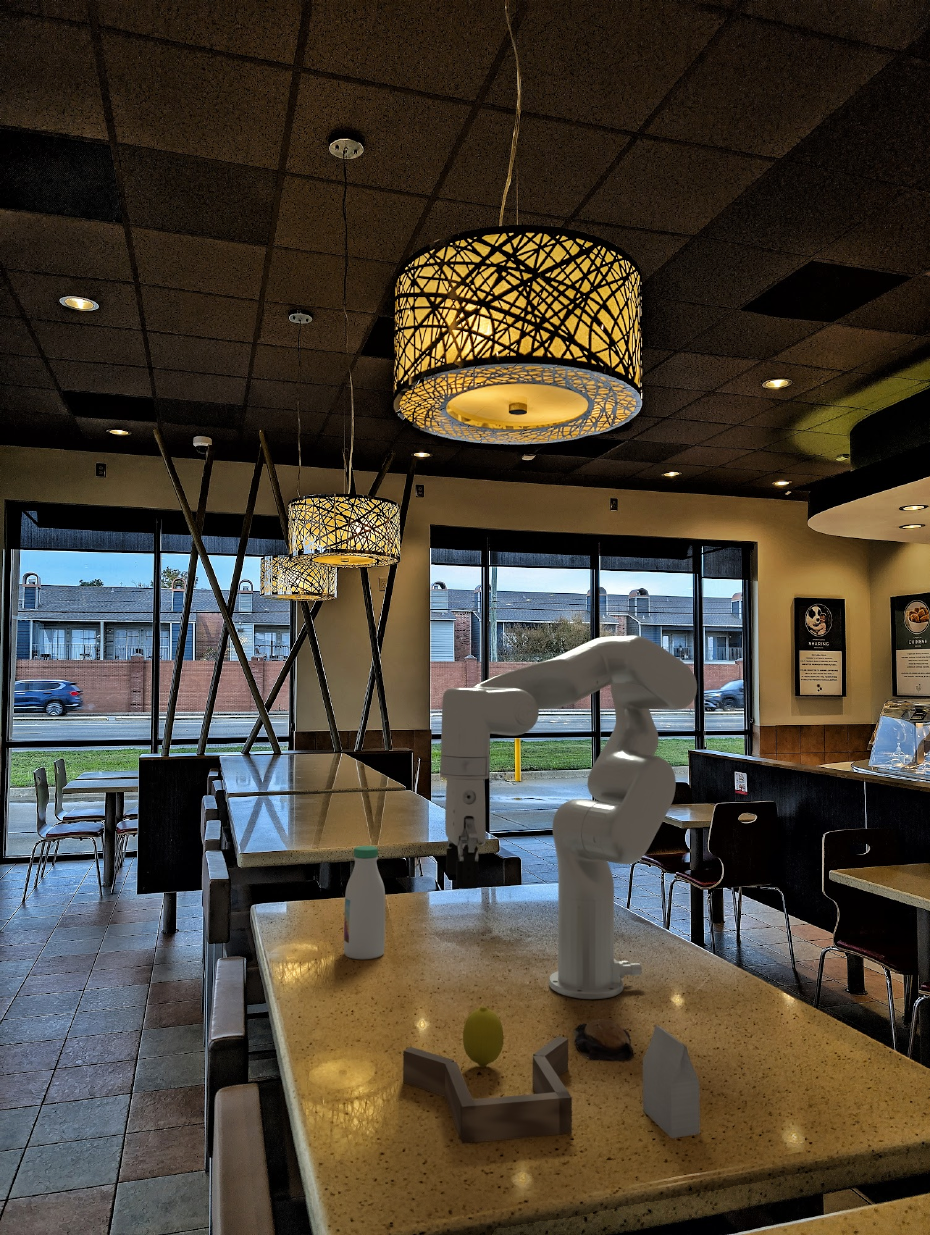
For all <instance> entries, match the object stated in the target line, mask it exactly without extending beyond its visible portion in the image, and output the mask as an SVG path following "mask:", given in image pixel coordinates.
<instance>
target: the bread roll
mask: <svg viewBox="0 0 930 1235" xmlns="http://www.w3.org/2000/svg"><path fill="white" fill-rule="evenodd" d="M572 1033H573V1034H572V1035H573V1039H574V1041H573V1042H574V1043H575V1046H576V1048H577V1050H578V1051H579V1053H580V1055H581V1056H582V1057H583V1059H587V1058H588V1059H587V1061H590V1062H591V1061H593V1062H594V1061H597V1062H599V1061H603V1062H606V1061H607V1062H609V1061H610V1062H627V1061H631V1060H633V1059H635V1058H636V1057H635V1052H634V1051H635V1050H634V1048H633V1046H632V1045H631V1043H632V1042H631V1035H630V1033H629V1032H628V1031H627V1030H626V1029H625V1028H622V1026H621V1025H619V1023H617V1022H615V1021H614V1020H612V1019H608V1018H606V1019H605V1018H604V1019H603V1018H602V1019H601V1018H600V1019H593V1020H590V1021H589V1022H587V1023H580V1024H578V1025H577V1026H576V1027H575V1028H573V1031H572Z"/></svg>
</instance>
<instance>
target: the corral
mask: <svg viewBox="0 0 930 1235" xmlns="http://www.w3.org/2000/svg"><path fill="white" fill-rule="evenodd" d="M402 1052H403V1053H402V1054H403V1055H402V1056H403V1057H402V1062H403V1063H402V1065H403V1066H402V1068H403V1069H402V1083H403V1084H407V1085H409V1086H413V1087H415V1088H418V1089H421V1090H424V1091H427V1092H430V1093H433V1094H435V1095H439V1096H441V1097H442V1096H443V1097H444V1098H445V1101H446V1104H447V1105H448V1108H449V1112H450V1115H451V1117H452V1120H453V1122H454V1126H455V1128H456V1132H457V1133H458V1136H459V1139H460V1142H461V1144H470V1143H480V1142H492V1141H501V1140H512V1139H513V1140H514V1139H523V1138H533V1137H543V1136H554V1135H556V1136H557V1135H565V1134H572V1133H573V1129H572V1128H573V1127H572V1126H573V1124H572V1123H573V1119H572V1118H573V1110H572V1109H573V1100H572V1098H573V1097H572V1095H571V1094H570V1092H569V1091H568V1089H567V1088H566V1086H565V1085H564V1083H563V1081H562V1080H561V1079H560V1076H561V1075H563V1074H564V1073H566V1071H568V1070H569V1038H568V1037H563V1036H559V1035H558V1036H556V1037H555V1038H553V1039H552V1040H551V1041H549V1042H548V1043H547V1044H545V1045H543V1047H541V1048H540V1049H538V1050H536V1052H534V1053H533V1054H532V1090H533V1091H534V1094H533V1093H532V1094H531V1093H530V1094H520V1095H509V1096H497V1097H486V1098H474V1099H473V1097H472V1095H471V1093H470V1090H469V1088H468V1086H467V1083H466V1081H465V1079H464V1076H463V1074H462V1071H461V1069H460V1066H459V1064H458V1062H457V1061H455V1060H454V1059H451V1058H449V1057H445V1056H443V1055H439V1054H435V1053H433V1052H429V1051H426V1050H423V1049H419V1048H415V1047H413V1046H408V1047H407V1048H406V1049H404V1050H403V1051H402Z"/></svg>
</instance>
